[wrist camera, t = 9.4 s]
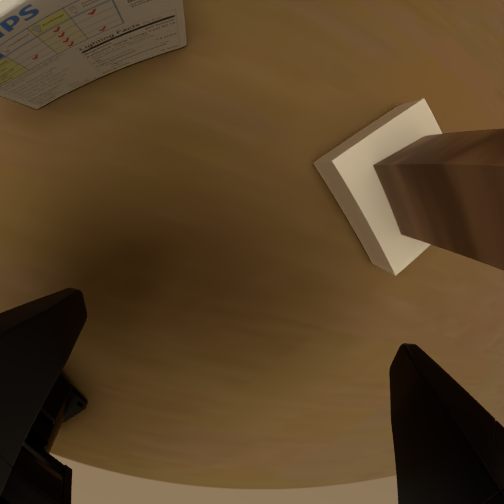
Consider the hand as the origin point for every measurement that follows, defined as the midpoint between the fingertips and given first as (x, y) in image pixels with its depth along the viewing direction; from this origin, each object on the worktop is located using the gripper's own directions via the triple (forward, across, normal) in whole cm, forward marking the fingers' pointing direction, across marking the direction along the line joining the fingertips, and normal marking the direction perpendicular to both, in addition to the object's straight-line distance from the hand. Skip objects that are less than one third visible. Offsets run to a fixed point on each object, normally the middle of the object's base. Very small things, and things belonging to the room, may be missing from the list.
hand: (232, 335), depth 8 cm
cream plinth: (+15, -8, -2) cm, 17 cm away
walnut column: (+12, -8, -3) cm, 15 cm away
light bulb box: (+12, +12, -10) cm, 20 cm away
